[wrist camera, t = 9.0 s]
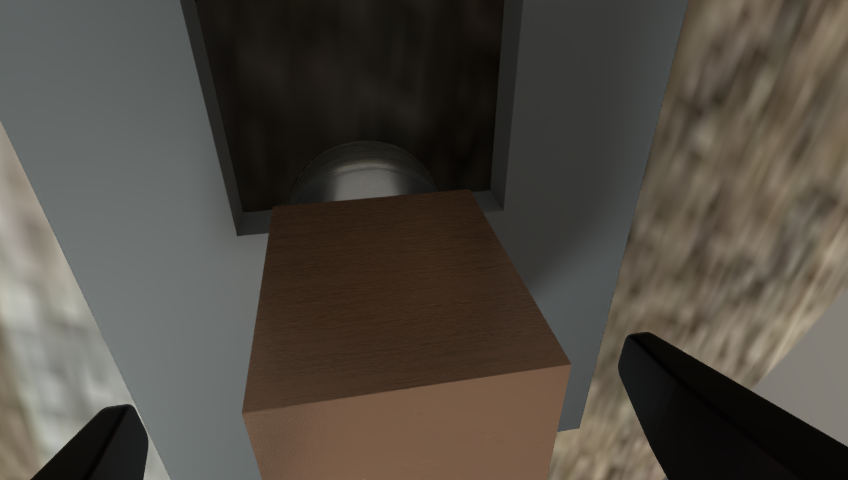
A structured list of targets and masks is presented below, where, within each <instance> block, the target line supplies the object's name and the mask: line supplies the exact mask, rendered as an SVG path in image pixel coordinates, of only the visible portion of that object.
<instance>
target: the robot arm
mask: <svg viewBox="0 0 848 480" xmlns="http://www.w3.org/2000/svg"><path fill="white" fill-rule="evenodd" d="M618 370H619V375H620V378H621V380H622V382H623V385H624V387H625V389H626V392H627V394H628V396H629V399H630V401H631V403H632V406H633V408H634V410H635V413H636V415H637V417H638V420H639V422H640V424H641V427H642V429H643V431H644V433H645V436H646V438H647V440H648V442H649V444H650V447H651V449H652V451H653V452H654V454H655V456H656V458H657V460H658V462H659V464H660V465H661V467H662V469H663V471H664V473H665V474H666V476H667V478H668V480H848V447H847V446H845V445H844V444H842V443H840V442H838V441H837V440H835V439H833V438H832V437H830V436H828V435H826V434H825V433H823V432H821V431H820V430H818V429H816V428H814V427H813V426H811V425H809V424H807V423H806V422H804V421H802V420H801V419H799V418H797V417H795V416H794V415H792V414H790V413H788V412H787V411H785V410H783V409H782V408H780V407H778V406H776V405H775V404H773V403H771V402H769V401H768V400H766V399H764V398H763V397H761V396H759V395H757V394H756V393H754V392H752V391H751V390H749V389H747V388H745V387H744V386H742V385H740V384H738V383H737V382H735V381H733V380H732V379H730V378H728V377H726V376H725V375H723V374H721V373H719V372H718V371H716V370H714V369H713V368H711V367H709V366H707V365H706V364H704V363H702V362H700V361H699V360H697V359H695V358H694V357H692V356H690V355H688V354H687V353H685V352H683V351H681V350H680V349H678V348H676V347H675V346H673V345H671V344H669V343H668V342H666V341H664V340H662V339H661V338H659V337H657V336H656V335H654V334H652V333H649V332H642V333H635V334H630V335H628V336H627V337H626V339H625V342H624V346H623V349H622V353H621V356H620V359H619V363H618ZM147 452H148V436H147V433H146V430H145V428H144V426H143V424H142V422H141V420H140V418H139V416H138V414H137V412H136V410H135V408H134V407H133V406H132V405H130V404H125V405H117V406H110V407H106V408H104V409H102V410H101V411H100V412H99V413H98V414H97V415H95V416H94V417H93V418H92V419H91V420H90V421H89V422H88V423H87V424H86V425H85V426H84V427H83V428H82V429H81V430H80V431H79V432H78V433H77V434H76V435H75V436H74V437H73V438H72V439H71V440H70V441H69V442H68V443H67V444H66V445H65V446H64V447H63V448H62V449H61V450H60V451H59V452H58V453H57V454H56V455H55V456H54V457H53V458H52V459H51V460H50V461H49V462H48V463H47V464H46V465H45V466H44V467H43V468H42V469H41V470H40V471H39V472H38V473H37V474H36V475H35V476H34V477H33V478H32V479H31V480H143V478H144V472H145V465H146V459H147Z"/></svg>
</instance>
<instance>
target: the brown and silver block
mask: <svg viewBox="0 0 848 480" xmlns="http://www.w3.org/2000/svg"><path fill="white" fill-rule="evenodd" d="M571 365H572V364H571V362H570V361H569V359H568V357H567V356H566V354H565V352H564V350H563V349H562V347H561V345H560V344H559V342H558V340H557V338H556V337H555V335H554V333H553V332H552V330H551V328H550V326H549V325H548V323H547V321H546V320H545V318H544V316H543V314H542V313H541V311H540V309H539V308H538V306H537V304H536V302H535V301H534V299H533V297H532V296H531V294H530V292H529V290H528V289H527V287H526V285H525V284H524V282H523V280H522V278H521V277H520V275H519V273H518V272H517V270H516V268H515V266H514V265H513V263H512V261H511V260H510V258H509V256H508V254H507V253H506V251H505V249H504V248H503V246H502V244H501V243H500V241H499V239H498V237H497V236H496V234H495V232H494V231H493V229H492V227H491V225H490V224H489V222H488V220H487V219H486V217H485V215H484V213H483V212H482V210H481V208H480V207H479V205H478V203H477V201H476V200H475V198H474V196H473V195H472V193H471V191H470V189H465V190H454V191H443V192H438V190H437V187H436V185H435V183H434V181H433V179H432V177H431V175H430V174H429V172H428V170H427V169H426V168H425V167H424V165H423V164H422V163H421V162H420V161H419V160H418V159H417V158H415V157H414V156H413V155H411V154H410V153H409V152H407V151H405V150H403V149H401V148H399V147H397V146H394V145H391V144H388V143H384V142H378V141H355V142H349V143H345V144H341V145H338V146H336V147H333V148H331V149H329V150H327V151H325V152H323V153H322V154H320V155H319V156H317V157H316V158H315V159H313V160H312V161H311V162H310V163H309V164H308V165H307V166H306V167H305V168H304V170H303V171H302V172H301V174H300V175H299V177H298V179H297V180H296V182H295V184H294V187H293V190H292V193H291V197H290V204H289V205H286V206H274V207H273V209H272V216H271V223H270V229H269V236H268V242H267V249H266V256H265V262H264V269H263V276H262V282H261V289H260V295H259V302H258V309H257V315H256V322H255V329H254V335H253V342H252V348H251V355H250V362H249V368H248V375H247V382H246V388H245V395H244V401H243V408H242V416H243V419H244V422H245V426H246V429H247V432H248V435H249V439H250V442H251V445H252V448H253V452H254V455H255V458H256V461H257V465H258V468H259V471H260V474H261V478H262V480H547V475H548V471H549V466H550V462H551V457H552V452H553V448H554V443H555V439H556V434H557V429H558V425H559V420H560V416H561V411H562V406H563V402H564V397H565V393H566V388H567V383H568V379H569V374H570V369H571Z"/></svg>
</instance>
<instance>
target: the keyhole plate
mask: <svg viewBox="0 0 848 480" xmlns="http://www.w3.org/2000/svg"><path fill="white" fill-rule="evenodd" d="M687 4H688V0H505V1H504V14H503V27H502V41H501V54H500V67H499V81H498V94H497V107H496V120H495V134H494V147H493V160H492V174H491V187H490V191H479V192H471V193H472V195H473V196H474V198H475V200H476V201H477V203H478V205H479V207H480V208H481V210H482V212H483V213H484V215H485V217H486V219H487V220H488V222H489V224H490V225H491V227H492V229H493V231H494V232H495V234H496V236H497V237H498V239H499V241H500V243H501V244H502V246H503V248H504V249H505V251H506V253H507V254H508V256H509V258H510V260H511V261H512V263H513V265H514V266H515V268H516V270H517V272H518V273H519V275H520V277H521V278H522V280H523V282H524V284H525V285H526V287H527V289H528V290H529V292H530V294H531V296H532V297H533V299H534V301H535V302H536V304H537V306H538V308H539V309H540V311H541V313H542V314H543V316H544V318H545V320H546V321H547V323H548V325H549V326H550V328H551V330H552V332H553V333H554V335H555V337H556V338H557V340H558V342H559V344H560V345H561V347H562V349H563V350H564V352H565V354H566V356H567V357H568V359H569V361H570V362H571V364H572V365H571V369H570V374H569V379H568V383H567V388H566V393H565V397H564V402H563V406H562V411H561V416H560V420H559V425H558V429H557V432H560V431H565V430H571V429H577V428H579V427H580V423H581V419H582V415H583V412H584V408H585V404H586V400H587V396H588V392H589V388H590V384H591V380H592V376H593V372H594V368H595V365H596V361H597V357H598V353H599V349H600V345H601V341H602V337H603V333H604V329H605V325H606V321H607V318H608V314H609V310H610V306H611V302H612V298H613V294H614V290H615V286H616V282H617V278H618V274H619V271H620V267H621V263H622V259H623V255H624V251H625V247H626V243H627V239H628V235H629V231H630V227H631V224H632V220H633V216H634V212H635V208H636V204H637V200H638V196H639V192H640V188H641V184H642V180H643V177H644V173H645V169H646V165H647V161H648V157H649V153H650V149H651V145H652V141H653V137H654V133H655V130H656V126H657V122H658V118H659V114H660V110H661V106H662V102H663V98H664V94H665V90H666V86H667V82H668V79H669V75H670V71H671V67H672V63H673V59H674V55H675V51H676V47H677V43H678V39H679V35H680V32H681V28H682V24H683V20H684V16H685V12H686V8H687ZM0 120H1V122H2V124H3V127H4V129H5V131H6V133H7V135H8V137H9V139H10V141H11V143H12V146H13V148H14V150H15V152H16V154H17V156H18V158H19V160H20V162H21V165H22V167H23V169H24V171H25V173H26V175H27V177H28V179H29V181H30V184H31V186H32V188H33V190H34V192H35V194H36V196H37V198H38V200H39V203H40V205H41V207H42V209H43V211H44V213H45V215H46V217H47V219H48V222H49V224H50V226H51V228H52V230H53V232H54V234H55V236H56V238H57V241H58V243H59V245H60V247H61V249H62V251H63V253H64V255H65V257H66V260H67V262H68V264H69V266H70V268H71V270H72V272H73V274H74V276H75V279H76V281H77V283H78V285H79V287H80V289H81V291H82V293H83V295H84V298H85V300H86V302H87V304H88V306H89V308H90V310H91V312H92V314H93V317H94V319H95V321H96V323H97V325H98V327H99V329H100V331H101V333H102V336H103V338H104V340H105V342H106V344H107V346H108V348H109V350H110V352H111V355H112V357H113V359H114V361H115V363H116V365H117V367H118V369H119V371H120V374H121V376H122V378H123V380H124V382H125V384H126V386H127V388H128V390H129V393H130V395H131V397H132V399H133V401H134V403H135V405H136V407H137V409H138V412H139V414H140V416H141V418H142V420H143V422H144V424H145V426H146V428H147V431H148V433H149V435H150V437H151V439H152V441H153V443H154V445H155V447H156V450H157V452H158V454H159V456H160V458H161V460H162V462H163V464H164V466H165V469H166V471H167V473H168V475H169V477H170V479H171V480H262V478H261V474H260V471H259V468H258V465H257V461H256V458H255V455H254V452H253V448H252V445H251V442H250V439H249V435H248V432H247V429H246V426H245V422H244V419H243V416H242V408H243V401H244V395H245V388H246V382H247V375H248V368H249V362H250V355H251V348H252V342H253V335H254V329H255V322H256V315H257V309H258V302H259V295H260V289H261V282H262V276H263V269H264V262H265V256H266V249H267V242H268V236H269V229H270V223H271V216H272V210H265V211H254V212H243V210H242V206H241V201H240V197H239V193H238V188H237V184H236V179H235V175H234V171H233V166H232V162H231V157H230V153H229V149H228V144H227V140H226V136H225V131H224V127H223V122H222V118H221V114H220V109H219V105H218V100H217V96H216V92H215V87H214V83H213V79H212V74H211V70H210V65H209V61H208V57H207V52H206V48H205V43H204V39H203V35H202V30H201V26H200V22H199V17H198V13H197V8H196V4H195V0H0Z"/></svg>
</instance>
